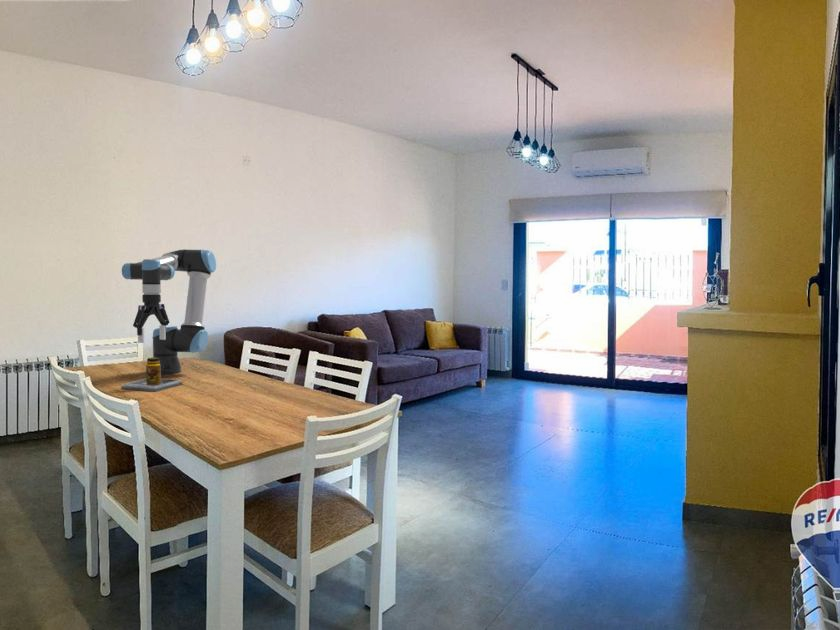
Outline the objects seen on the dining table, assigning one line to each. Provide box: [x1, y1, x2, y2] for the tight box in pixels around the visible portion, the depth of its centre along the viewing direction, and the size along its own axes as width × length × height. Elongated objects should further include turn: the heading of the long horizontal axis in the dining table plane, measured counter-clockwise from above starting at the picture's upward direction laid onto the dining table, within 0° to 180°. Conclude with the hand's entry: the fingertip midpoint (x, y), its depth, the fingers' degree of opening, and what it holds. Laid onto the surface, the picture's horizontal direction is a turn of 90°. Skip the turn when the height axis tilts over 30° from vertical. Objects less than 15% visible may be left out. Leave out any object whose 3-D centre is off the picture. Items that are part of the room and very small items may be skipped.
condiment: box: [142, 357, 163, 386], centre depth 275 cm, size 7×8×12 cm
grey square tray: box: [120, 378, 184, 393], centre depth 275 cm, size 18×18×2 cm
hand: (152, 341), depth 274 cm, fingers open, 13 cm apart
